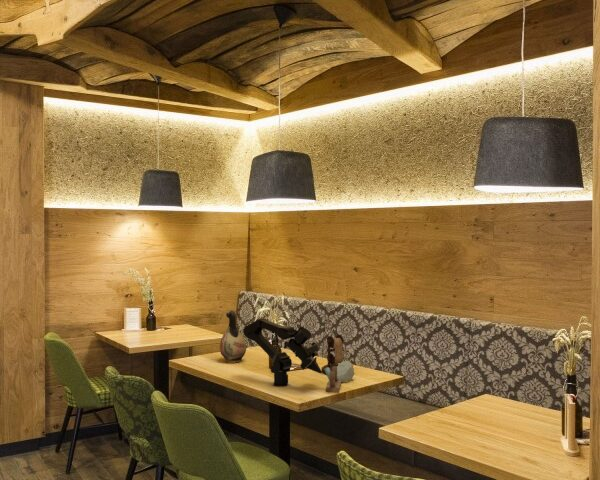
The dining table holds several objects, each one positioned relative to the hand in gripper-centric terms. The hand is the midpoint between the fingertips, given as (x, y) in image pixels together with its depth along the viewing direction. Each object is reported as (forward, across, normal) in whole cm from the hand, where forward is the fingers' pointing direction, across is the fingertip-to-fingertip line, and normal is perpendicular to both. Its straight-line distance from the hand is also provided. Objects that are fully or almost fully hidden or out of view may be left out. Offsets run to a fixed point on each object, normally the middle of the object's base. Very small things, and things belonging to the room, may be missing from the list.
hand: (321, 372), depth 292 cm
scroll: (+8, +35, +3) cm, 36 cm away
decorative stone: (+12, +18, 0) cm, 21 cm away
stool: (+9, 0, +2) cm, 9 cm away
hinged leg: (+7, 0, -1) cm, 7 cm away
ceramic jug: (-36, +54, +47) cm, 80 cm away
